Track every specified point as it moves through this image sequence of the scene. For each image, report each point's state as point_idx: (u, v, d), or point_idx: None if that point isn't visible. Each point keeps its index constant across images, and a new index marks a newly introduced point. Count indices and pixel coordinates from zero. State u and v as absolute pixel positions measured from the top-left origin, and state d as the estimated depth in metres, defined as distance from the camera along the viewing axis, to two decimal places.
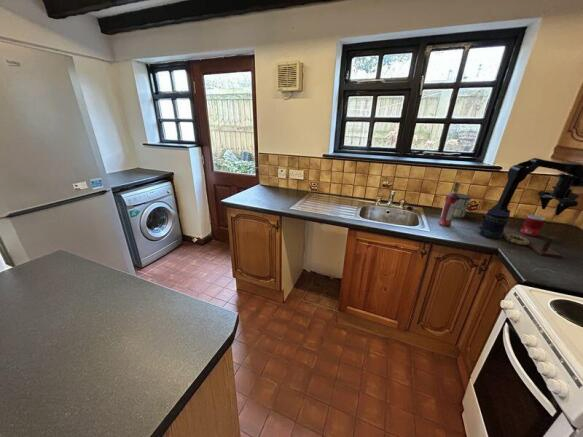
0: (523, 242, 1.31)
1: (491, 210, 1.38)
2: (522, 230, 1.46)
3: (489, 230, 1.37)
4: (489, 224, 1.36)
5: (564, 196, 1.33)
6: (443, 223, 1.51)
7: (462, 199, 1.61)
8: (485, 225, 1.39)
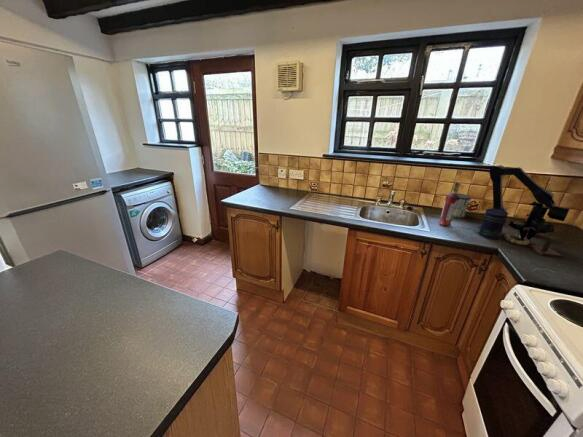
0: (523, 242, 1.31)
1: (488, 210, 1.38)
2: None
3: (489, 230, 1.37)
4: (489, 224, 1.36)
5: (528, 223, 1.31)
6: (443, 223, 1.51)
7: (462, 199, 1.61)
8: (484, 225, 1.39)
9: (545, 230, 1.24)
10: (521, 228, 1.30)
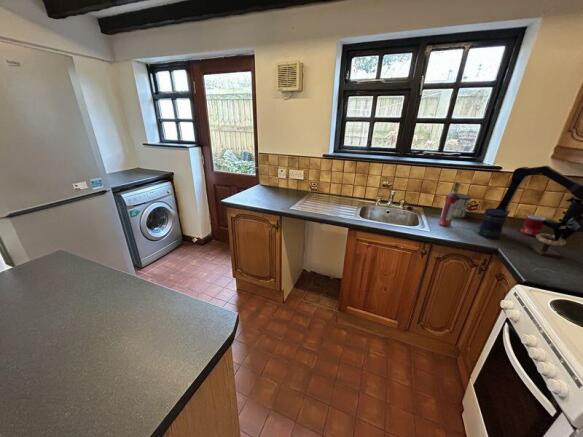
0: (559, 243, 1.19)
1: (488, 209, 1.38)
2: (522, 230, 1.46)
3: (488, 230, 1.37)
4: (488, 224, 1.36)
5: (565, 221, 1.19)
6: (443, 223, 1.51)
7: (462, 199, 1.61)
8: (484, 225, 1.39)
9: None
10: (557, 227, 1.18)
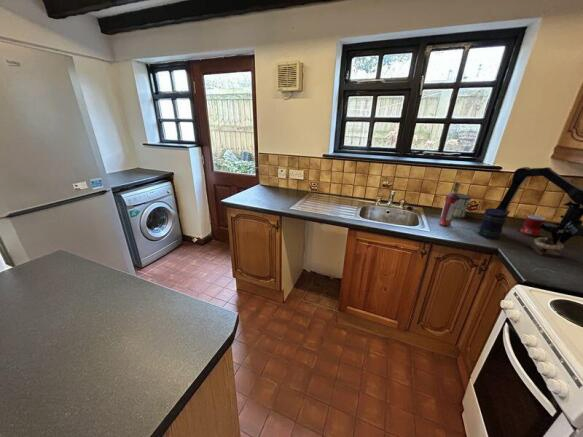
0: (556, 247, 1.20)
1: (488, 210, 1.38)
2: (522, 230, 1.46)
3: (488, 230, 1.37)
4: (488, 224, 1.36)
5: (562, 225, 1.20)
6: (443, 223, 1.51)
7: (462, 199, 1.61)
8: (484, 225, 1.39)
9: None
10: (555, 231, 1.19)
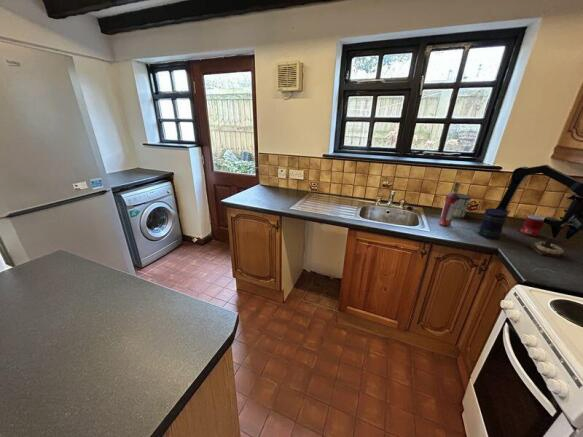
0: (557, 251, 1.21)
1: (488, 210, 1.38)
2: (522, 230, 1.46)
3: (488, 230, 1.37)
4: (488, 224, 1.36)
5: (566, 219, 1.18)
6: (443, 223, 1.51)
7: (462, 199, 1.61)
8: (484, 225, 1.39)
9: None
10: (558, 225, 1.18)
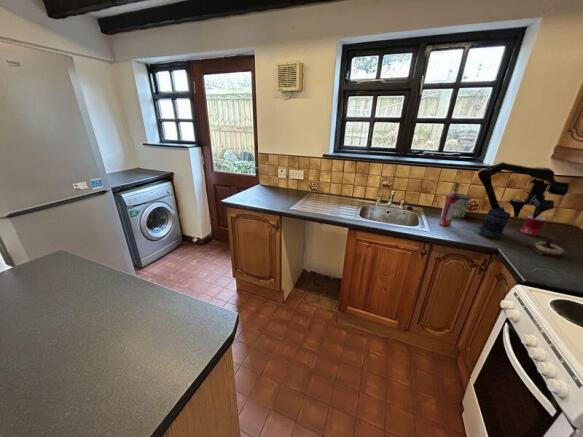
0: (557, 251, 1.21)
1: (491, 210, 1.38)
2: (522, 230, 1.46)
3: (489, 230, 1.37)
4: (490, 224, 1.36)
5: (528, 200, 1.32)
6: (443, 223, 1.51)
7: (462, 199, 1.61)
8: (485, 225, 1.39)
9: (545, 206, 1.25)
10: (521, 205, 1.31)
